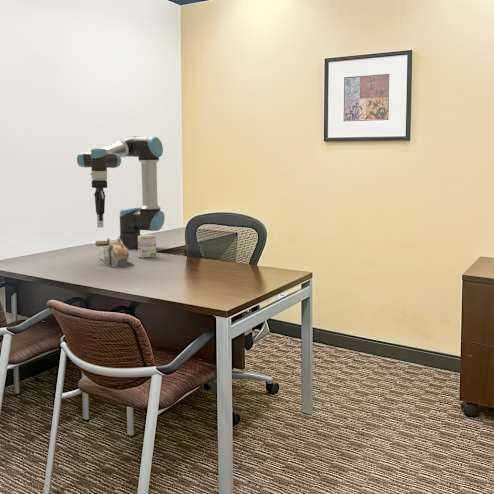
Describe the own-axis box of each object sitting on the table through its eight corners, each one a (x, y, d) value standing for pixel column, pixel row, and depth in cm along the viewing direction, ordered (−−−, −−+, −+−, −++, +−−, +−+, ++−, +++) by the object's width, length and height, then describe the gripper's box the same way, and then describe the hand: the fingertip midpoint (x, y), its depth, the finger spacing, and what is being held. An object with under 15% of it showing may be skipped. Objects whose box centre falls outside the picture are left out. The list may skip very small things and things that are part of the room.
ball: (123, 254, 277) (123, 247, 276) (125, 256, 274) (125, 249, 273) (116, 254, 275) (116, 247, 274) (118, 256, 272) (118, 249, 271)
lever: (95, 243, 283) (95, 238, 282) (118, 241, 288) (119, 236, 287) (103, 260, 269) (104, 255, 268) (128, 258, 275) (128, 253, 273)
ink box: (152, 255, 305) (152, 234, 303) (156, 257, 300) (156, 235, 299) (137, 257, 300) (137, 235, 298) (141, 258, 296) (140, 236, 294)
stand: (103, 261, 285) (102, 245, 284) (124, 260, 290) (124, 244, 289) (111, 267, 270) (111, 250, 269) (134, 265, 275) (133, 248, 274)
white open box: (116, 256, 300) (116, 245, 299) (122, 260, 291) (121, 248, 290) (99, 258, 296) (99, 246, 295) (104, 261, 287) (103, 249, 286)
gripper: (88, 179, 281) (89, 226, 285) (94, 180, 270) (95, 228, 273) (103, 179, 285) (104, 225, 288) (110, 180, 273) (111, 228, 277)
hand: (100, 227), depth 281 cm, fingers closed
